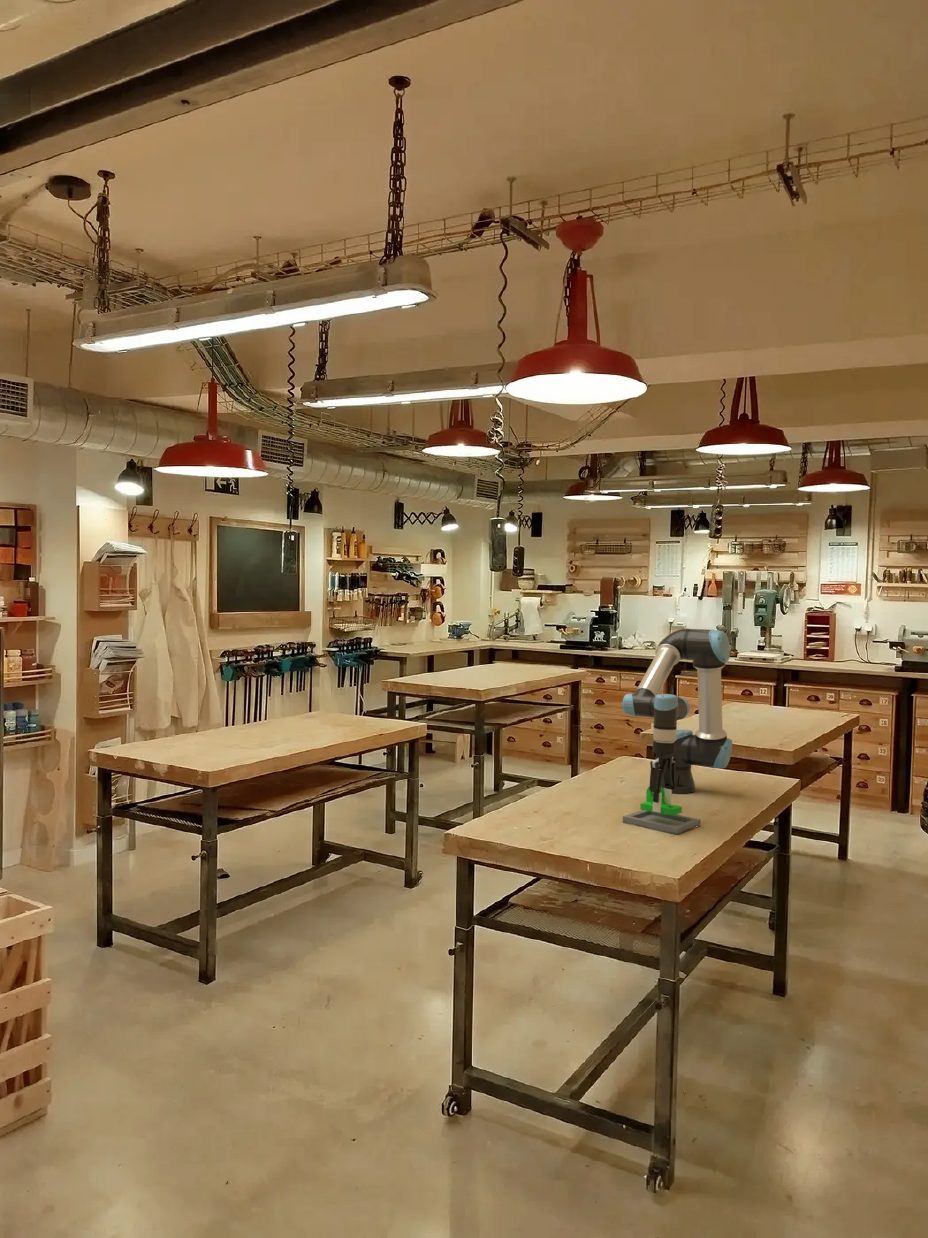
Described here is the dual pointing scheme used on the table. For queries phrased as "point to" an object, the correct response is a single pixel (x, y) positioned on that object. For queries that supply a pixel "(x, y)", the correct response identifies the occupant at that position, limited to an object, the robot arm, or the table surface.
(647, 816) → the locating tray
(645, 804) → the mechanical part
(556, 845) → the table surface
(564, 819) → the table surface
